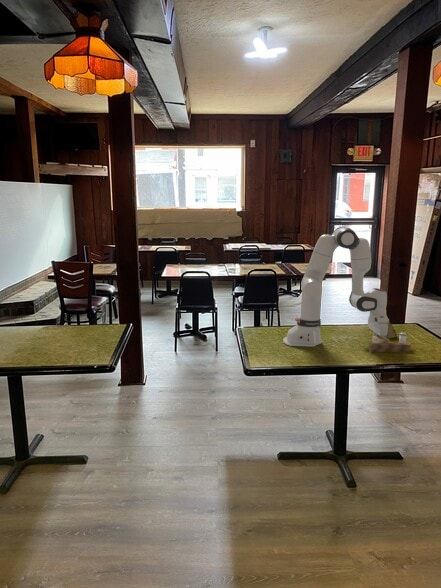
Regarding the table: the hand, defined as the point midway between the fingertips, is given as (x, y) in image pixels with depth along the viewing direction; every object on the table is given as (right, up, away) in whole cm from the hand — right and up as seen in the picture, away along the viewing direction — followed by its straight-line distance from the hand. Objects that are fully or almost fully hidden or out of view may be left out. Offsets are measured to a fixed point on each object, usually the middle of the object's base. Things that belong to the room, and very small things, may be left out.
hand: (376, 339), depth 252 cm
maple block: (0, -3, -6) cm, 7 cm away
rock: (+12, 0, +11) cm, 16 cm away
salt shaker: (+12, -4, -7) cm, 14 cm away
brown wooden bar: (+2, -5, -14) cm, 15 cm away
